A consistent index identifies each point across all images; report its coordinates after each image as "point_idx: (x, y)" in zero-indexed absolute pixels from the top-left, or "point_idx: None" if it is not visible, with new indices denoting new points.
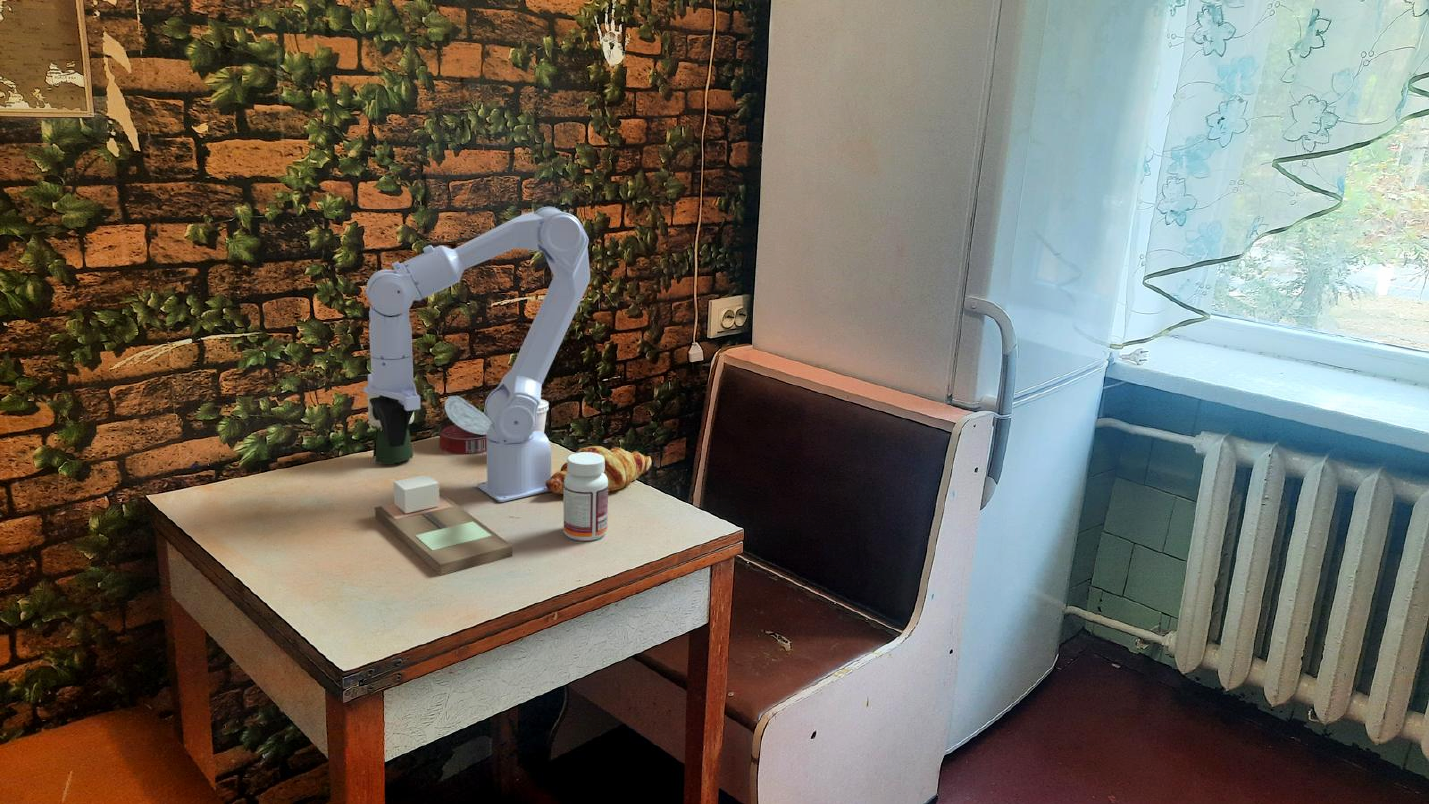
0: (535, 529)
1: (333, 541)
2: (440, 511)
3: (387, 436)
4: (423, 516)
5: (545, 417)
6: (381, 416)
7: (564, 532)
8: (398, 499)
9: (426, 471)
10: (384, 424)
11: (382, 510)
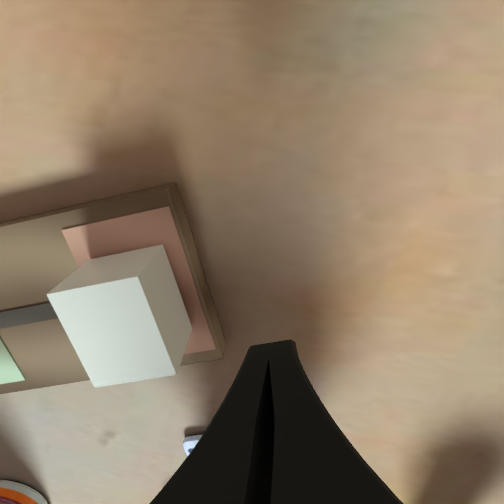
0: (41, 450)
1: (23, 41)
2: None
3: (237, 379)
4: None
5: None
6: (243, 486)
7: (4, 483)
8: (122, 260)
9: (459, 353)
10: (237, 435)
11: (139, 205)
